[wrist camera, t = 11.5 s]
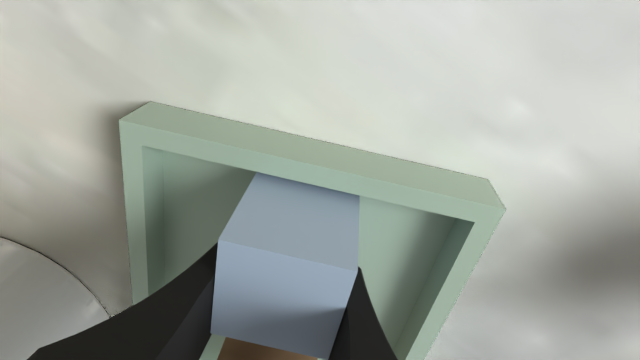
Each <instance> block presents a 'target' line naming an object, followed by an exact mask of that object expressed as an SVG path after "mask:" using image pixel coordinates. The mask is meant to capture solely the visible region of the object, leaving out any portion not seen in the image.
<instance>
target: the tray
mask: <svg viewBox="0 0 640 360" xmlns="http://www.w3.org/2000/svg"><path fill="white" fill-rule="evenodd" d="M119 131H120V144H121V157H122V171H123V184H124V197H125V210H126V224H127V237H128V250H129V264H130V277H131V290H132V304H133V305H135V304H137V303H138V302H140V301H142V300H143V299H145V298H147V297H148V296H150V295H151V294H153V293H154V292H156V291H157V290H159V289H160V288H162V287H163V286H165V285H166V284H168V283H169V282H170V281H172V280H173V279H174V278H176V277H177V276H178V275H180V274H181V273H182V272H184V271H185V270H186V269H187V268H188V267H190V266H191V265H192V264H193V263H194V262H196V261H197V260H198V259H199V258H200V257H202V256H203V255H204V254H205V253H206V252H207V251H208V250H209V249H210V248H211V247H213V246H214V245H215V244H216V243H217V242H218V239H219V237H220V236H221V234H222V232H223V230H224V229H225V227H226V225H227V223H228V222H229V220H230V218H231V216H232V215H233V213H234V211H235V209H236V207H237V206H238V204H239V202H240V200H241V199H242V197H243V195H244V193H245V192H246V190H247V188H248V186H249V185H250V183H251V181H252V179H253V178H254V176H255V174H256V172H260V173H264V174H268V175H273V176H277V177H281V178H286V179H290V180H294V181H299V182H303V183H307V184H312V185H316V186H320V187H325V188H329V189H333V190H338V191H342V192H346V193H351V194H355V195H359V196H360V204H359V243H358V267H360V268H361V270H362V273H363V277H364V281H365V284H366V288H367V291H368V294H369V297H370V300H371V302H372V305H373V308H374V310H375V313H376V315H377V318H378V320H379V323H380V325H381V327H382V329H383V331H384V334H385V336H386V338H387V340H388V342H389V344H390V346H391V348H392V350H393V352H394V353H395V355H396V357H397V359H398V360H424V359H425V357H426V355H427V353H428V352H429V350H430V348H431V346H432V344H433V342H434V341H435V339H436V337H437V335H438V333H439V331H440V330H441V328H442V326H443V324H444V322H445V320H446V319H447V317H448V315H449V313H450V311H451V309H452V308H453V306H454V304H455V302H456V300H457V299H458V297H459V295H460V293H461V291H462V289H463V288H464V286H465V284H466V282H467V280H468V278H469V277H470V275H471V273H472V271H473V269H474V267H475V266H476V264H477V262H478V260H479V258H480V256H481V255H482V253H483V251H484V249H485V247H486V246H487V244H488V242H489V240H490V238H491V236H492V235H493V233H494V231H495V229H496V227H497V225H498V224H499V222H500V220H501V218H502V216H503V214H504V213H505V211H506V208H505V206H504V205H503V203H502V201H501V200H500V198H499V196H498V195H497V193H496V191H495V190H494V188H493V186H492V185H491V183H490V181H489V180H488V179H484V178H480V177H475V176H471V175H467V174H462V173H458V172H454V171H449V170H445V169H441V168H436V167H432V166H428V165H423V164H419V163H415V162H410V161H406V160H402V159H397V158H393V157H389V156H384V155H380V154H376V153H371V152H367V151H363V150H358V149H354V148H350V147H345V146H341V145H337V144H332V143H328V142H324V141H319V140H315V139H311V138H306V137H302V136H298V135H293V134H289V133H285V132H280V131H276V130H272V129H267V128H263V127H259V126H254V125H250V124H246V123H241V122H237V121H233V120H228V119H224V118H220V117H215V116H211V115H207V114H202V113H198V112H194V111H190V110H185V109H181V108H177V107H172V106H168V105H164V104H159V103H155V102H151V101H150V102H149V103H147V104H145V105H144V106H142V107H140V108H138V109H137V110H135V111H133V112H131V113H130V114H128V115H126V116H124V117H123V118H121V119H119ZM225 338H226V337H224V336H220V335H216V334H212V335H211V337H210V339H209V341H208V343H207V345H206V347H205V349H204V351H203V353H202V355H201V357H200V359H199V360H217V358H218V356H219V353H220V351H221V348H222V345H223V343H224V340H225ZM317 360H324V359H320V358H318V359H317Z"/></svg>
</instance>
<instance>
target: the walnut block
mask: <svg viewBox="0 0 640 360" xmlns="http://www.w3.org/2000/svg"><path fill="white" fill-rule="evenodd" d="M317 359H318V358H316V357H311V356H307V355H303V354H298V353H294V352H290V351H285V350H281V349H277V348H272V347H268V346H263V345H259V344H255V343H250V342H246V341H242V340H237V339H233V338H229V337H226V338H225V340H224V343H223V345H222V348H221V351H220V353H219V356H218V358H217V360H317Z"/></svg>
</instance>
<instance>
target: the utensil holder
mask: <svg viewBox="0 0 640 360" xmlns="http://www.w3.org/2000/svg"><path fill="white" fill-rule="evenodd" d="M107 319H109V316H108V314H107V313H106V311H105V309H104V308H103V307H102V305H101V304H100V302H99V301H98V300H97V299H96V297H95V296H94V295H93V294H92V293H91V292H90V291H89V290H88V289H87V288H86V287H85V286H84V285H83V284H82V283H81V282H80V281H79V280H78V279H77V278H76V277H74V276H73V275H72V274H71V273H70V272H68V271H67V270H65V269H64V268H63V267H61V266H60V265H58V264H56V263H55V262H53V261H52V260H50V259H48V258H47V257H45V256H43V255H41V254H40V253H38V252H36V251H34V250H31V249H29V248H27V247H24V246H22V245H20V244H17V243H15V242H12V241H9V240H7V239H4V238H1V237H0V360H27V359H28V358H29V357H30V356H31V355H32V354H33V353H34V352H35V351H36V350H37V349H38V348H41V347H43V346H46V345H49V344H51V343H54V342H57V341H59V340H62V339H64V338H67V337H69V336H72V335H75V334H77V333H79V332H82V331H84V330H86V329H88V328H90V327H92V326H94V325H97V324H99V323H101V322H103V321H105V320H107Z"/></svg>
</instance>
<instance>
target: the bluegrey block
mask: <svg viewBox="0 0 640 360" xmlns="http://www.w3.org/2000/svg"><path fill="white" fill-rule="evenodd" d="M359 204H360V196H359V195H355V194H351V193H346V192H342V191H338V190H333V189H329V188H325V187H320V186H316V185H312V184H307V183H303V182H299V181H294V180H290V179H286V178H281V177H277V176H273V175H268V174H264V173H260V172H256V174H255V176H254V178H253V179H252V181H251V183H250V185H249V186H248V188H247V190H246V192H245V193H244V195H243V197H242V199H241V200H240V202H239V204H238V206H237V207H236V209H235V211H234V213H233V215H232V216H231V218H230V220H229V222H228V223H227V225H226V227H225V229H224V230H223V232H222V234H221V236H220V237H219V239H218V248H217V260H216V272H215V284H214V296H213V308H212V319H211V331H210V333H211V334H216V335H220V336H224V337H229V338H233V339H237V340H242V341H246V342H250V343H255V344H259V345H263V346H268V347H272V348H277V349H281V350H285V351H290V352H294V353H298V354H303V355H307V356H311V357H316V358H320V359H324V360H328V359H329V356H330V353H331V350H332V347H333V344H334V341H335V338H336V335H337V332H338V329H339V326H340V323H341V320H342V317H343V314H344V311H345V308H346V305H347V302H348V299H349V296H350V293H351V290H352V287H353V284H354V281H355V278H356V275H357V272H358V243H359Z"/></svg>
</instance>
